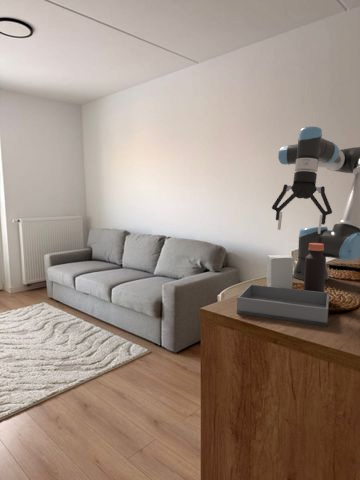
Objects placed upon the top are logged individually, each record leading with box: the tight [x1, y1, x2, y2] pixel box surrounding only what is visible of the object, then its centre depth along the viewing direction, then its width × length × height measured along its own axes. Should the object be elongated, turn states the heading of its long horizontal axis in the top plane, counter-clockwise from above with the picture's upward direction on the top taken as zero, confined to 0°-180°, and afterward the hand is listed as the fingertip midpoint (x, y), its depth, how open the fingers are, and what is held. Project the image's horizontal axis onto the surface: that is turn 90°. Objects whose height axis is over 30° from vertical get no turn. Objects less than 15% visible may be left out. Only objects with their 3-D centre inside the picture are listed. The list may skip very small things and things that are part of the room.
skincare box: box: [266, 254, 294, 289], centre depth 124 cm, size 8×6×15 cm
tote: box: [236, 283, 330, 327], centre depth 107 cm, size 18×26×5 cm
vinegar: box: [303, 243, 327, 292], centre depth 118 cm, size 7×7×20 cm
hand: (298, 231), depth 120 cm, fingers open, 13 cm apart
